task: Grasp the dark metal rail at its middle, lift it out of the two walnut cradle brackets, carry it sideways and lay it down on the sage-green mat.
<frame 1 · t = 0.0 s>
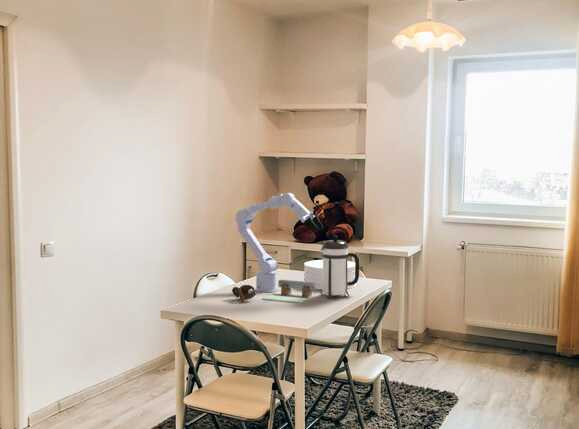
hand: (320, 230, 306), 32 cm above the table, tool tilted 50°, fingers open, 7 cm apart
coffee press: (336, 296, 308), on the table
bracket left: (286, 293, 312), on the table
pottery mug: (243, 300, 299), on the table
mat: (285, 299, 299), on the table
plate stack: (330, 285, 336), on the table
rail: (296, 287, 309), point 3 cm above the table, touching bracket left, bracket right
bracket right: (306, 295, 308), on the table
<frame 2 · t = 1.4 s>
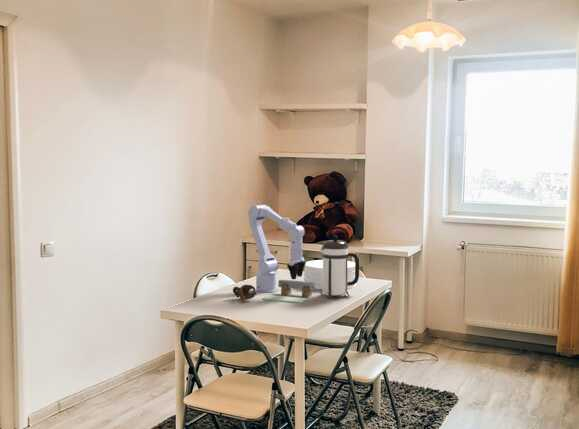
hand: (296, 277, 309), 9 cm above the table, tool pointing down, fingers open, 7 cm apart
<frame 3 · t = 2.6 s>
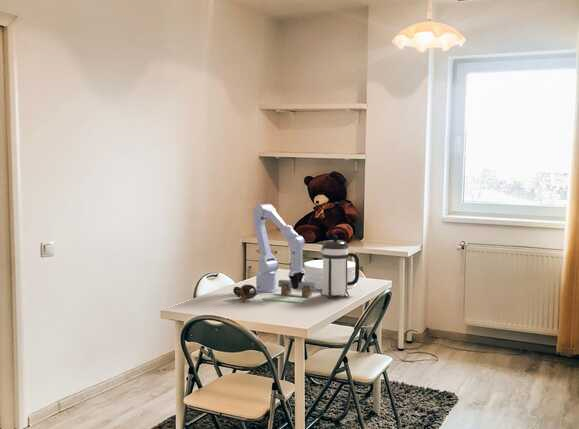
hand: (296, 288, 309), 3 cm above the table, tool pointing down, fingers closed on rail, 3 cm apart
rail: (296, 287, 309), point 3 cm above the table, touching bracket left, bracket right, gripper
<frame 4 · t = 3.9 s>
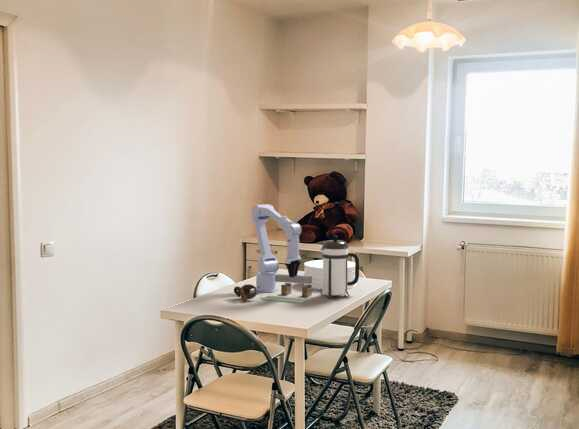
hand: (293, 276, 304), 10 cm above the table, tool pointing down, fingers closed on rail, 3 cm apart
rail: (293, 282, 305), point 7 cm above the table, touching gripper
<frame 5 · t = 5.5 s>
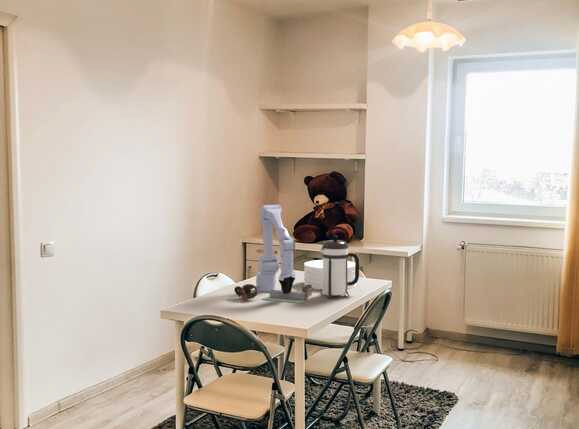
hand: (286, 293, 298), 3 cm above the table, tool pointing down, fingers open, 3 cm apart
rail: (289, 294, 300), point 2 cm above the table, tilted 90°, touching gripper, mat
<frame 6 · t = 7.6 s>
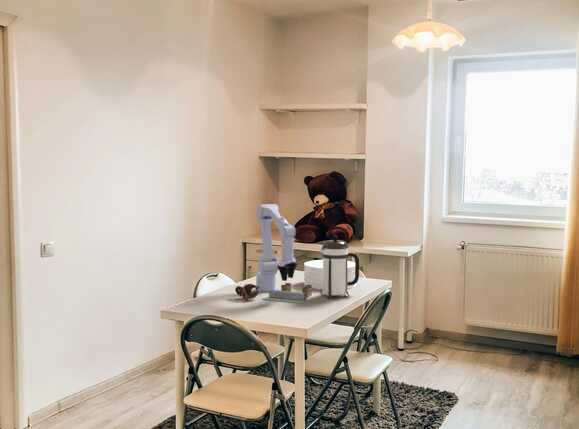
hand: (287, 279, 298), 10 cm above the table, tool pointing down, fingers open, 7 cm apart
rail: (288, 294, 300), point 2 cm above the table, tilted 90°, touching mat
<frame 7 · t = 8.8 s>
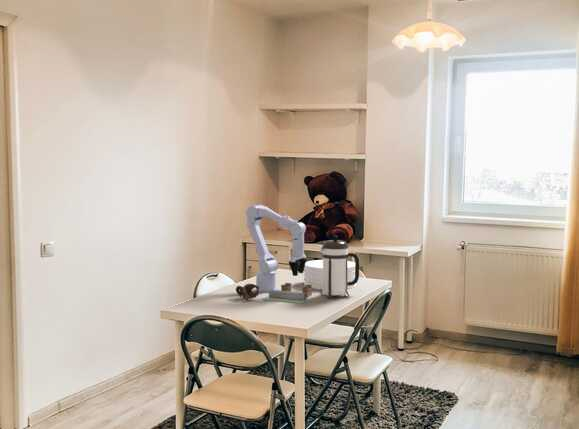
hand: (298, 274, 311), 10 cm above the table, tool pointing down, fingers open, 7 cm apart
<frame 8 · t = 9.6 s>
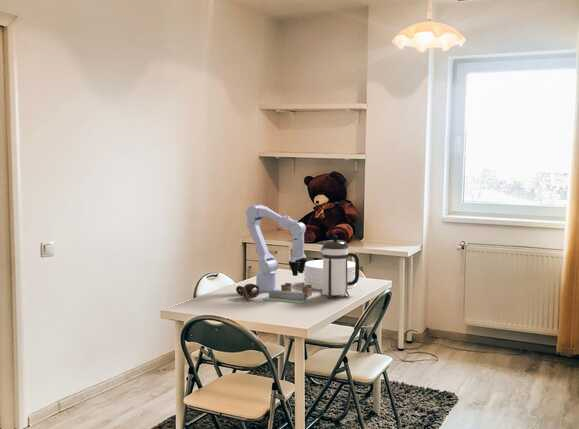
hand: (298, 274, 311), 10 cm above the table, tool pointing down, fingers open, 7 cm apart
at the end: rail inside the target area on the mat (2.0 cm from its centre), point 2.2 cm above the mat's base; rail moved 10.5 cm from its start; the gripper is holding nothing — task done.
